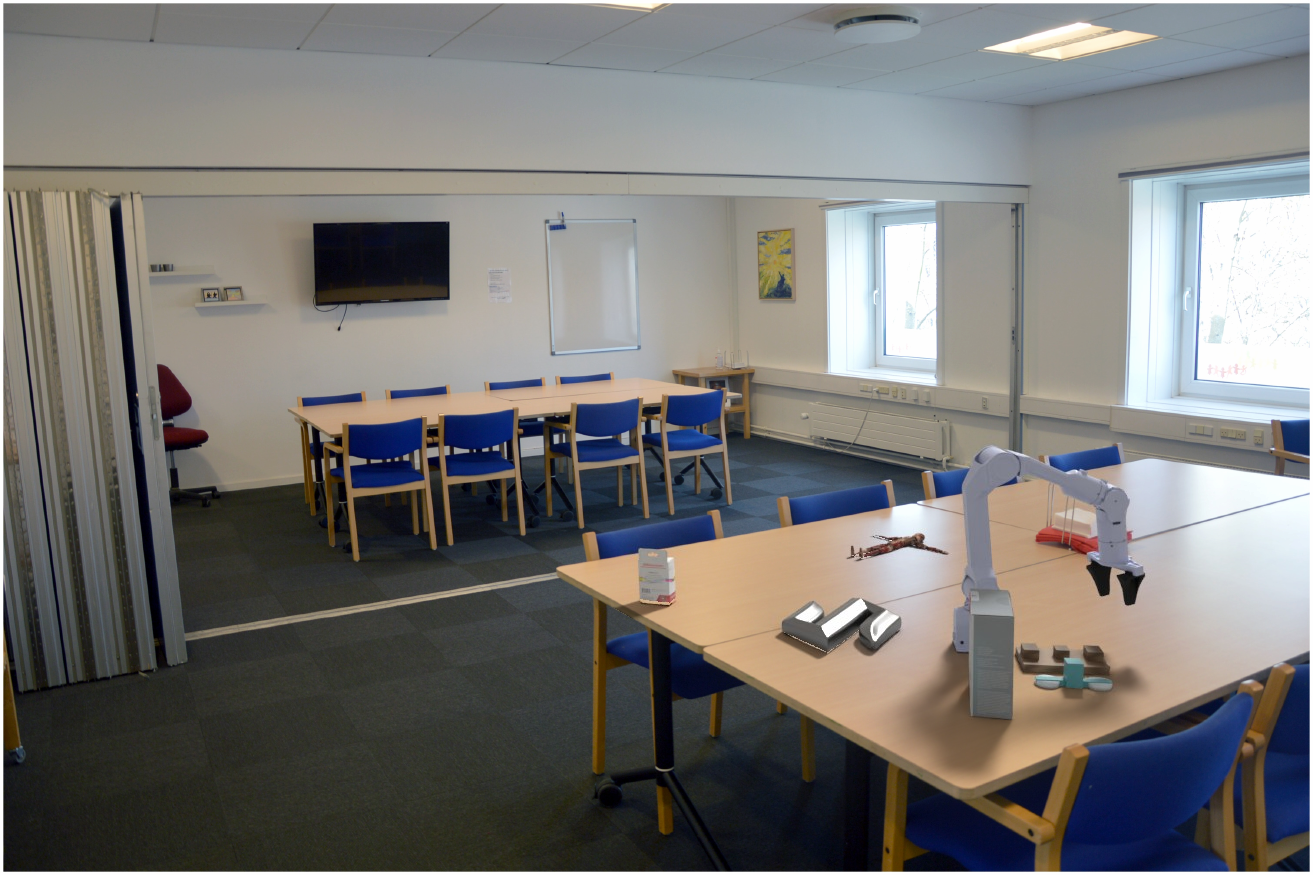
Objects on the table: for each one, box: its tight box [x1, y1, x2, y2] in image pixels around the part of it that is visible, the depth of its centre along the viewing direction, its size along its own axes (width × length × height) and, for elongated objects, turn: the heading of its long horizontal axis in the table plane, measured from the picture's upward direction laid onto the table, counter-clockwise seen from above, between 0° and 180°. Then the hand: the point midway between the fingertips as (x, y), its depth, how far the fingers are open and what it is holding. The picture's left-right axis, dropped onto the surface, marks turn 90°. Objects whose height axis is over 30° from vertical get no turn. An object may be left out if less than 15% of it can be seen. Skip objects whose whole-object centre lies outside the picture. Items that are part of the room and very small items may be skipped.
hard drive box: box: [968, 588, 1015, 720], centre depth 181 cm, size 16×8×20 cm, turn 163°
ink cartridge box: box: [637, 547, 677, 603], centre depth 248 cm, size 9×5×15 cm, turn 68°
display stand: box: [1015, 642, 1111, 676], centre depth 199 cm, size 16×10×4 cm, turn 79°
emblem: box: [781, 597, 902, 652], centre depth 223 cm, size 28×5×28 cm
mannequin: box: [850, 532, 949, 558], centre depth 297 cm, size 26×29×4 cm
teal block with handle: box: [1034, 658, 1113, 692], centre depth 189 cm, size 14×5×5 cm, turn 79°
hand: (1117, 599), depth 208 cm, fingers open, 7 cm apart
